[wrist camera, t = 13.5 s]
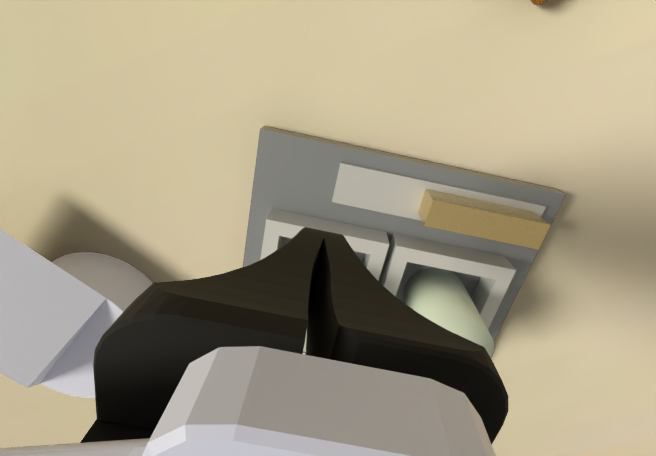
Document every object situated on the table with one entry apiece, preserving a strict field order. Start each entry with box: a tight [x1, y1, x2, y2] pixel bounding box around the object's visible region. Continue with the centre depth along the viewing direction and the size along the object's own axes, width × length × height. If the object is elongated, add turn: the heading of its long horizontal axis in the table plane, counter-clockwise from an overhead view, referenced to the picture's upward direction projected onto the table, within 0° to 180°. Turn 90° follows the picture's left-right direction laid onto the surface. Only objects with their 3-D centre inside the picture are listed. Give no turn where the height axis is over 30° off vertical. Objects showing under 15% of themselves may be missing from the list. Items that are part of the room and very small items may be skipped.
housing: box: [243, 126, 566, 353], centre depth 20 cm, size 14×16×6 cm
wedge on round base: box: [0, 229, 153, 398], centre depth 22 cm, size 9×7×13 cm
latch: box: [418, 189, 551, 250], centre depth 19 cm, size 1×6×2 cm, turn 78°
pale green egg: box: [404, 267, 494, 358], centre depth 20 cm, size 4×4×5 cm
